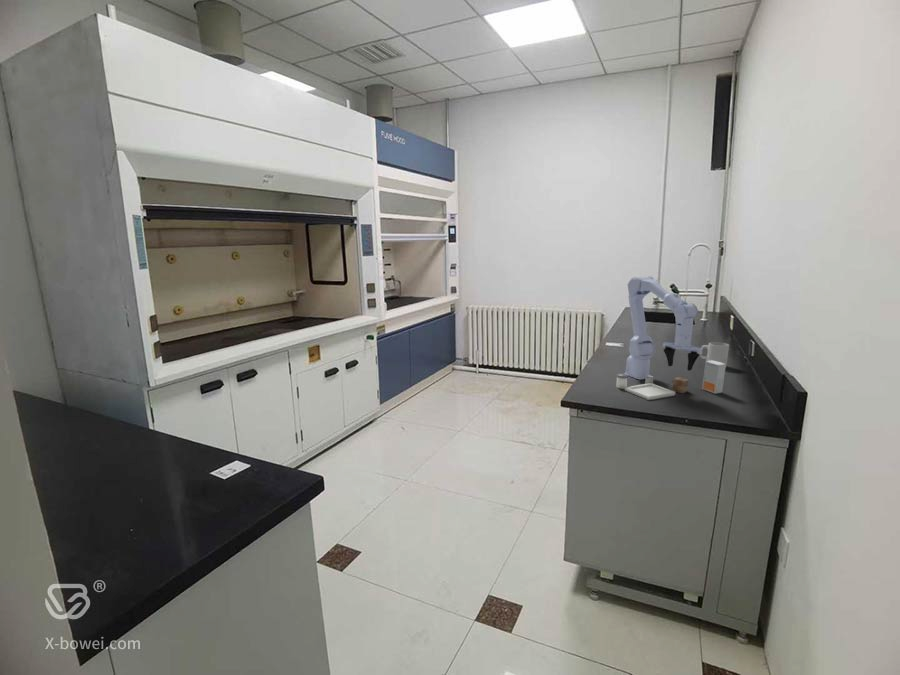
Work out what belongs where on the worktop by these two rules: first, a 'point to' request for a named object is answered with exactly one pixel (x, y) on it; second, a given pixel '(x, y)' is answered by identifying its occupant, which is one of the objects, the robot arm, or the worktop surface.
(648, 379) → the rubber stopper
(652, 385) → the tray
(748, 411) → the worktop surface
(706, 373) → the skincare box
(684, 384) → the walnut block
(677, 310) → the robot arm
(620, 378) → the sample jar
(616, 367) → the worktop surface
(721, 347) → the mug
